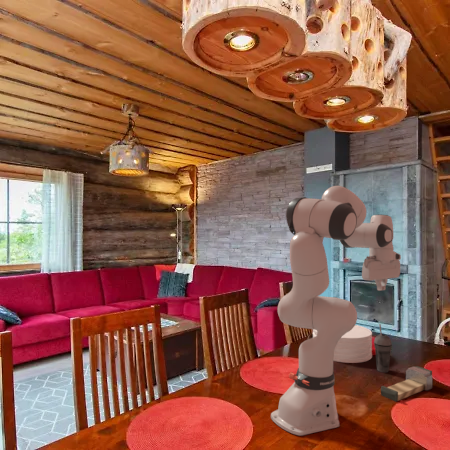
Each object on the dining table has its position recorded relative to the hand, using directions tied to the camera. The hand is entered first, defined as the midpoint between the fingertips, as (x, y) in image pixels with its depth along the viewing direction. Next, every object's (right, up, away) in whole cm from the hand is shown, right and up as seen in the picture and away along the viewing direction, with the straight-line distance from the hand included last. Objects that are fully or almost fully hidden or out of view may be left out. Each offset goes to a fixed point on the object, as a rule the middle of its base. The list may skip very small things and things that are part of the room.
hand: (381, 290), depth 144 cm
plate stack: (-4, -38, +36) cm, 53 cm away
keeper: (+14, -37, -2) cm, 40 cm away
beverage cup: (+6, -38, +13) cm, 40 cm away
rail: (+7, -37, -6) cm, 38 cm away
